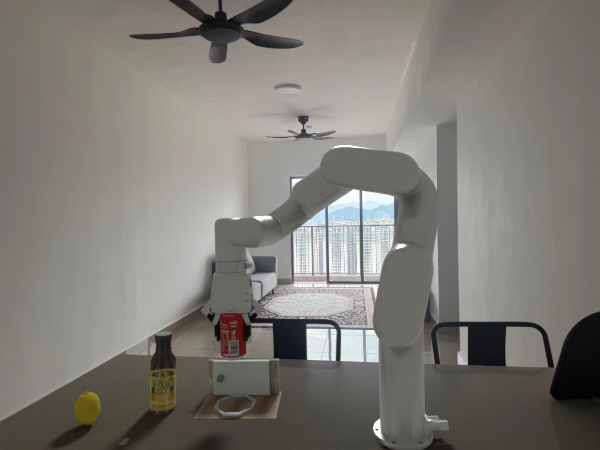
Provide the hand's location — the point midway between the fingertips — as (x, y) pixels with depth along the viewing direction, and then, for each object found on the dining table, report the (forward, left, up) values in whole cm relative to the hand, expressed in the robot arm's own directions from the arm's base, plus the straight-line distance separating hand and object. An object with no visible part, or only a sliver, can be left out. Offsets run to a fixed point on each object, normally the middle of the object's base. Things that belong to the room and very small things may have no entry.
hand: (233, 338), depth 97 cm
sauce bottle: (+18, +1, -18) cm, 26 cm away
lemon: (+34, +7, -18) cm, 39 cm away
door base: (-1, -1, -18) cm, 18 cm away
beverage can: (0, 0, -5) cm, 5 cm away
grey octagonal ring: (0, 0, -17) cm, 17 cm away
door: (-1, -6, -17) cm, 18 cm away
